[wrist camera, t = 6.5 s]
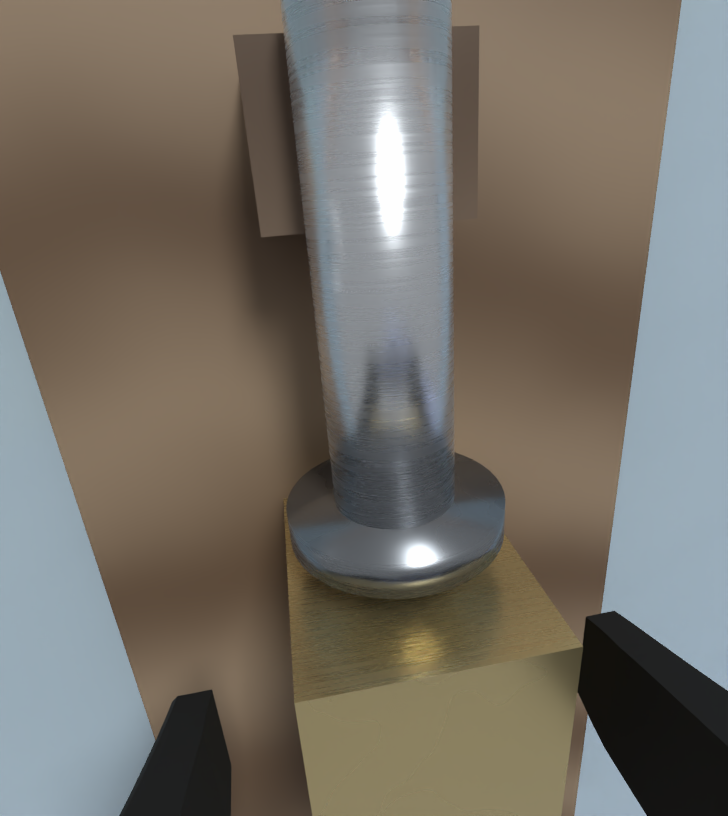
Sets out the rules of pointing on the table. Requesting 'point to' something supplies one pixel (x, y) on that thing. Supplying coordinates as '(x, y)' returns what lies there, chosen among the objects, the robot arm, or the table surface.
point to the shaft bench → (311, 311)
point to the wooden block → (434, 696)
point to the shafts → (383, 303)
